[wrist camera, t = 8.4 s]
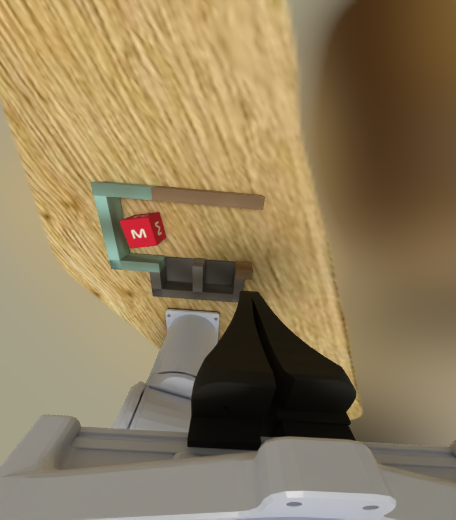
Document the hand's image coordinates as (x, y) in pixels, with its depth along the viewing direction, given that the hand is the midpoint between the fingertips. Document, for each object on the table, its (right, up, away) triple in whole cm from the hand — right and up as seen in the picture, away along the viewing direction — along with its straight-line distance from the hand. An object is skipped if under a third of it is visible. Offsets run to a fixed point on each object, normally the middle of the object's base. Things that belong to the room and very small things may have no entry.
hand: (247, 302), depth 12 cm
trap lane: (-7, +5, +9) cm, 12 cm away
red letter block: (-11, +7, +8) cm, 15 cm away
